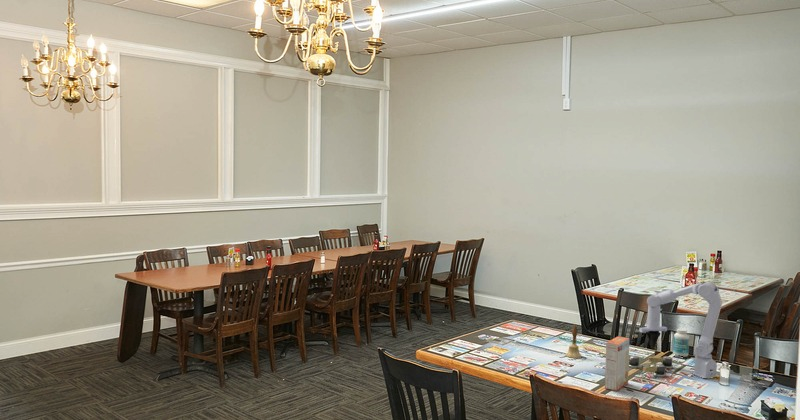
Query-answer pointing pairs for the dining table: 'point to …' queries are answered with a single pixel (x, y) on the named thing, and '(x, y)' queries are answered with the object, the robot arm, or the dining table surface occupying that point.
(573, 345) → the hand bell
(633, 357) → the knob
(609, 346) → the cracker box
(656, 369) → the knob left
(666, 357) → the knob
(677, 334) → the pill bottle
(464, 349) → the dining table surface
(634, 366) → the levelling base
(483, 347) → the dining table surface
